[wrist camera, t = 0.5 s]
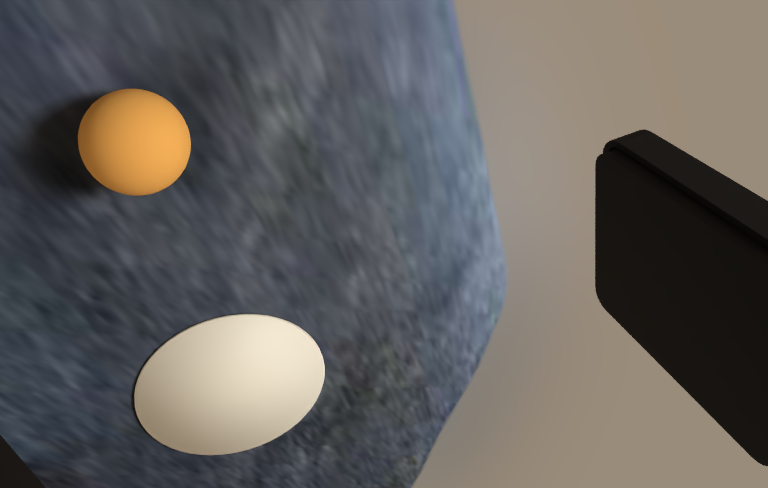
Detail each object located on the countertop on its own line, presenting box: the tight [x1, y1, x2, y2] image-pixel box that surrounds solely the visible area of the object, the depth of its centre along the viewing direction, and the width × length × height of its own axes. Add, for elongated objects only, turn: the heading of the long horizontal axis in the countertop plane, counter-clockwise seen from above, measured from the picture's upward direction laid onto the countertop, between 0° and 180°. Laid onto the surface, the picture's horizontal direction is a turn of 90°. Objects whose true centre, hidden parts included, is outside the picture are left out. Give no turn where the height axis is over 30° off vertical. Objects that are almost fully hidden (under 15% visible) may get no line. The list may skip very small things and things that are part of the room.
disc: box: [134, 314, 325, 455], centre depth 50 cm, size 14×14×1 cm
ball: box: [78, 89, 191, 195], centre depth 35 cm, size 6×6×6 cm
